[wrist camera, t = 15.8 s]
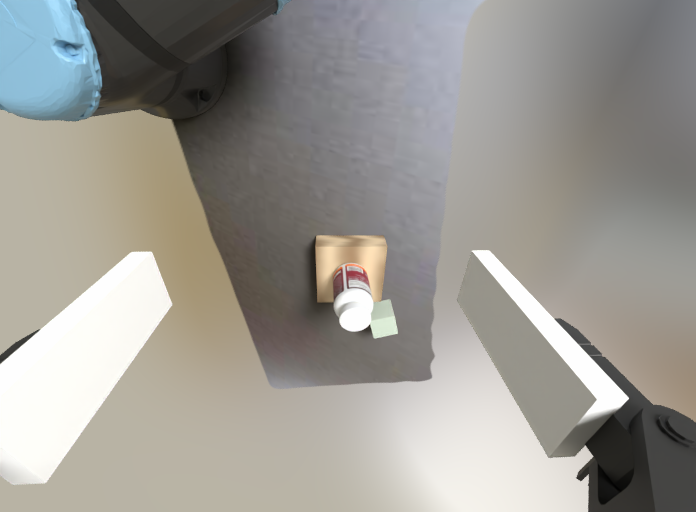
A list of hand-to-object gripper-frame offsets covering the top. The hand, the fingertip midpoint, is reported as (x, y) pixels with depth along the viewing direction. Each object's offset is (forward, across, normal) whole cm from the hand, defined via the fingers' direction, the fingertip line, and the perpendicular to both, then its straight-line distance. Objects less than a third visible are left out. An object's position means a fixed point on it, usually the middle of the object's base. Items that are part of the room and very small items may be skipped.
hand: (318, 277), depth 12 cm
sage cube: (+35, +11, -34) cm, 50 cm away
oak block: (+35, +4, -22) cm, 41 cm away
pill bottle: (+31, +4, -22) cm, 38 cm away
